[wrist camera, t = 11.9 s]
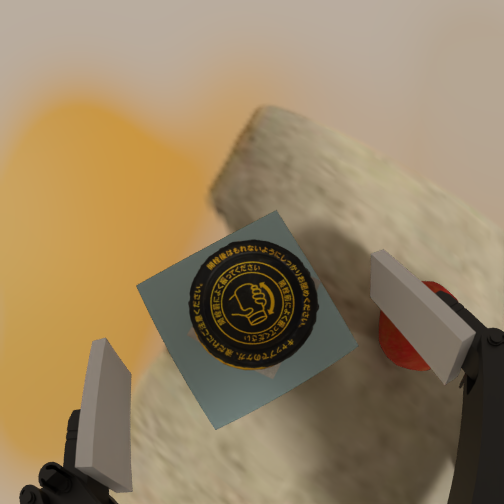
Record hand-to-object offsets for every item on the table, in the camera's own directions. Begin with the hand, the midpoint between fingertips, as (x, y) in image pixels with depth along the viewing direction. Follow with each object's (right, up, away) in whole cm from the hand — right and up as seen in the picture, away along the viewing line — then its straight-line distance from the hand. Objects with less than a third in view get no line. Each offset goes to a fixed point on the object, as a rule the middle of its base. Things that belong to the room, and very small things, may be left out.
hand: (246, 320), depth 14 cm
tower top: (0, -3, +14) cm, 14 cm away
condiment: (0, -1, +10) cm, 10 cm away
